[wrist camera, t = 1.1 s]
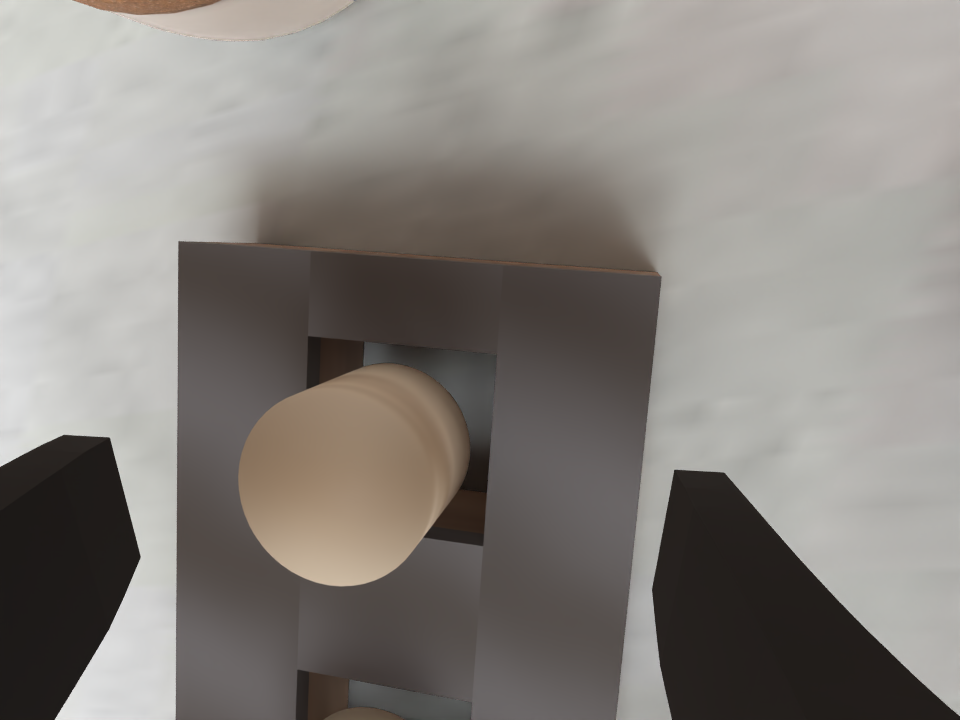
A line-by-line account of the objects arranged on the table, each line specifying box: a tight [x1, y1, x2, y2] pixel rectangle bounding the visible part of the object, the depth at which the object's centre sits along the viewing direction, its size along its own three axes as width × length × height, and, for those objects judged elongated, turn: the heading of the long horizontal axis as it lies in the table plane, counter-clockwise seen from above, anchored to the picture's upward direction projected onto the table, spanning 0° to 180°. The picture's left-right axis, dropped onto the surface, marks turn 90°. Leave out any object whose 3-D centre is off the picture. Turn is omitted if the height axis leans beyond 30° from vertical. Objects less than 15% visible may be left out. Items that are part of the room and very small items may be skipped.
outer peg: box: [238, 363, 470, 586], centre depth 17 cm, size 4×4×4 cm
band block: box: [176, 241, 661, 720], centre depth 21 cm, size 18×12×4 cm, turn 176°
